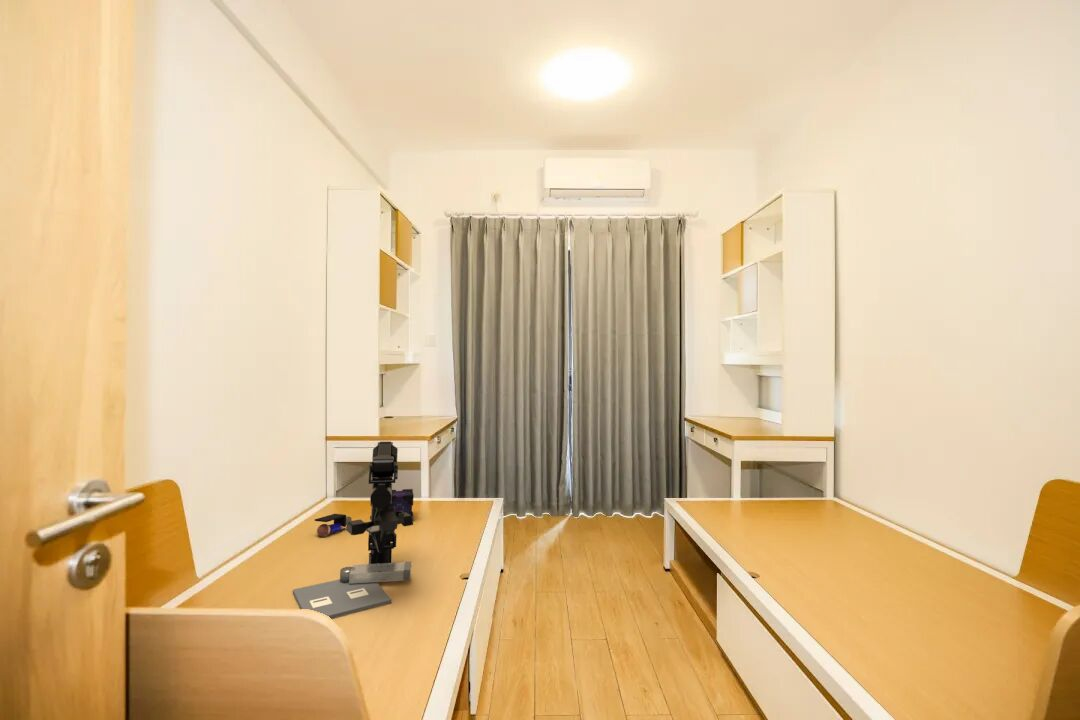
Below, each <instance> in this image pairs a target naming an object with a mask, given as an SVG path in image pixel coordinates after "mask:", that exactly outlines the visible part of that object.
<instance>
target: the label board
mask: <svg viewBox="0 0 1080 720" xmlns="http://www.w3.org/2000/svg"><path fill="white" fill-rule="evenodd" d="M292 595H293V596H294V598H295V601H296V603H297V605H298V607H299V606H300V607H299V609H300V610H301V609H310V610H314V611H317V612H320V613H323V614H325V615H327V616H329V617H330V618H331V619H330V620H332V619H336V618H339V617H344V616H347V615H351V614H355V613H358V612H362V611H367V610H370V609H374V608H377V607H378V608H379V607H381V606H386V605H390V604H392V602H393V600H392V598H391V597H390V596H389V594H388V593H387V592H386V591H385V590H384V589H383V588H382V586H380V585H379V582H370V583H354V584H349V582H341V581H340V578H339V579H334V580H331V581H326V582H320V583H317V584H311V585H308V586H307V585H306V586H303V587H299V588H293V589H292Z"/></svg>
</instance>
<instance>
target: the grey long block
mask: <svg viewBox="0 0 1080 720" xmlns="http://www.w3.org/2000/svg"><path fill="white" fill-rule="evenodd" d="M411 573H412V561H402V562H400V561H399V562H391V563H380V564H369V563H365V564H352V566H345V567H343V568H341V569H340V570H339V579H340V581H341V582H349V584H354V583H370V582H377V583H380V582H381V583H382V582H399V581H400V582H401V581H403V582H405V581H407V582H408V581H410V580H411V576H412V574H411Z"/></svg>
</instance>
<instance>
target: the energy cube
mask: <svg viewBox="0 0 1080 720" xmlns="http://www.w3.org/2000/svg"><path fill="white" fill-rule="evenodd" d="M391 503H392V504H393V510H394V512H397V511H403V512H404V513H405V512H406V513H408V514H410V515H411V516H412V517H413V518H414V512H413V506H414V492H413V488H405V489H404V488H403V489H402V490H397V489H392V501H391Z"/></svg>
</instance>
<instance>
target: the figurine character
mask: <svg viewBox="0 0 1080 720" xmlns="http://www.w3.org/2000/svg"><path fill="white" fill-rule="evenodd" d="M331 521H333V523H331V524H327V523H329V522H331ZM349 521H353V519H352V517H351V516H348V515H347V514H343V513H342V514H341V513H333V514H330V515H329V514H328V515H325V516H321V517H318V518H315V519H314V522H320V523H321V522H322V523H323V524H320V525H318V528H317V529H316V533H317V535H318V536H319V537H321V538H324V537H327V536H329V534H331V533H334V532H338V531H344V530H346V528H347V523H348V522H349Z"/></svg>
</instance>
